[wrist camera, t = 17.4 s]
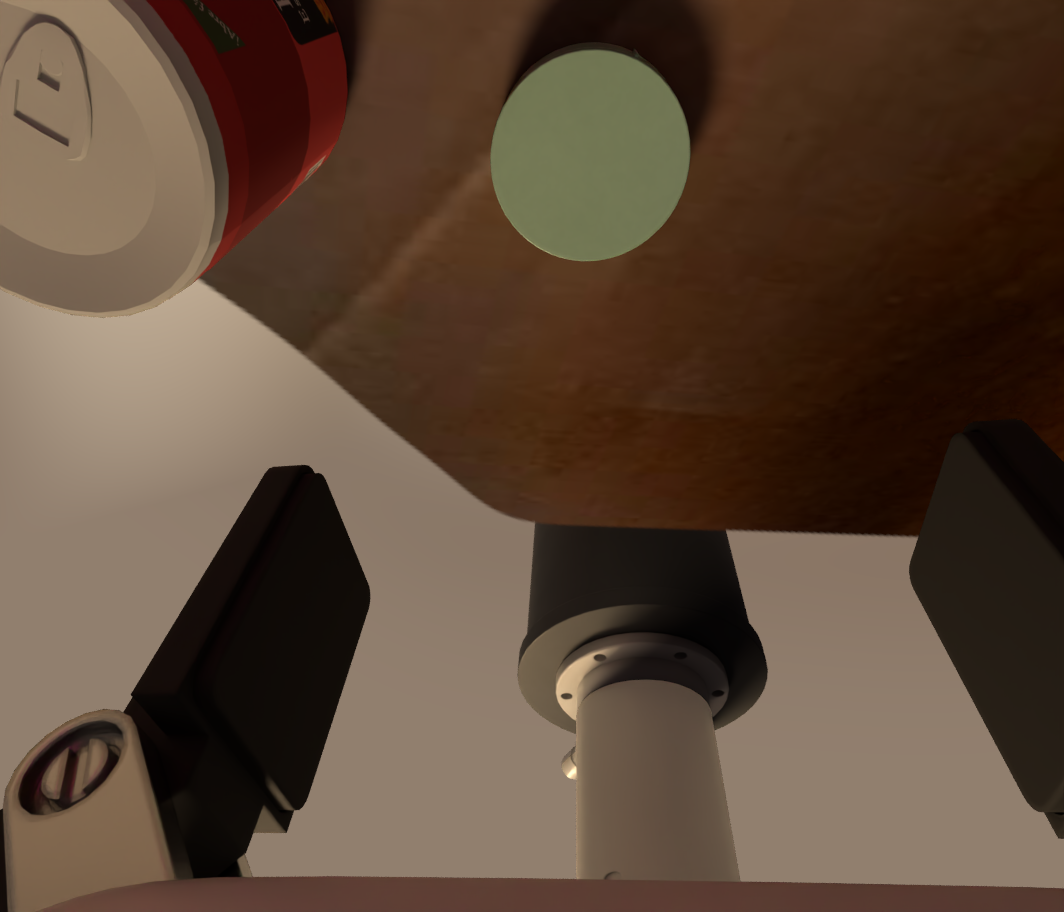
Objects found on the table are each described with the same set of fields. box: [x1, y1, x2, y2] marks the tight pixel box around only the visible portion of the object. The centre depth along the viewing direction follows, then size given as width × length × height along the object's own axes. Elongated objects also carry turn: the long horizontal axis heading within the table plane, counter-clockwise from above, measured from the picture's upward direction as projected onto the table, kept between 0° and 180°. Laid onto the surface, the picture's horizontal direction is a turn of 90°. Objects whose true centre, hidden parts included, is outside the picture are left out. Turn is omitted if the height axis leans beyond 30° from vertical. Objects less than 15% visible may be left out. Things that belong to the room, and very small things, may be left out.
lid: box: [490, 42, 691, 261], centre depth 22 cm, size 7×7×2 cm
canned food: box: [0, 0, 348, 318], centre depth 18 cm, size 8×8×11 cm
